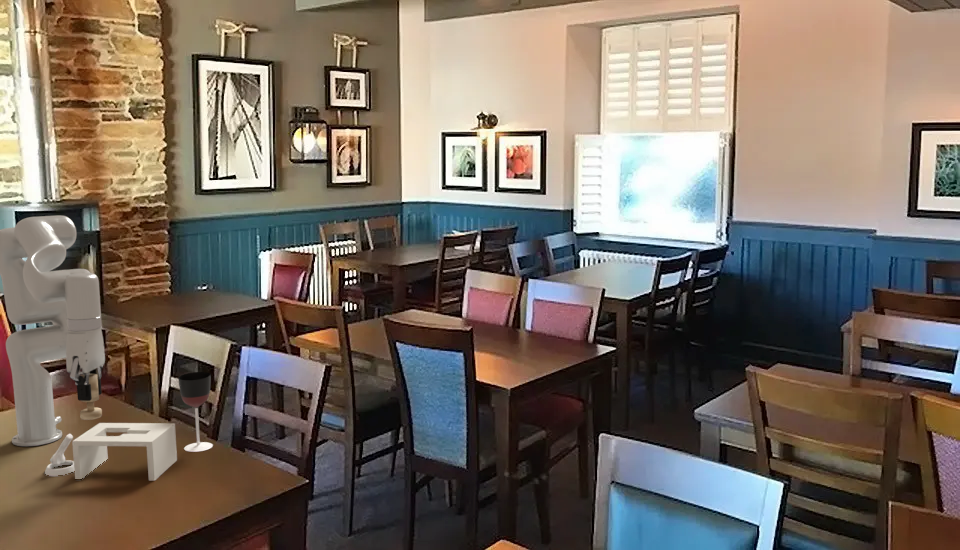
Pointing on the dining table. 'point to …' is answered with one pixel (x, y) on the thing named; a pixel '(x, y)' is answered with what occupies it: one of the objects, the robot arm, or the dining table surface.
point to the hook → (60, 460)
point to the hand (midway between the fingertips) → (89, 396)
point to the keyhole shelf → (153, 435)
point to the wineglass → (195, 400)
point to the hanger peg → (92, 401)
